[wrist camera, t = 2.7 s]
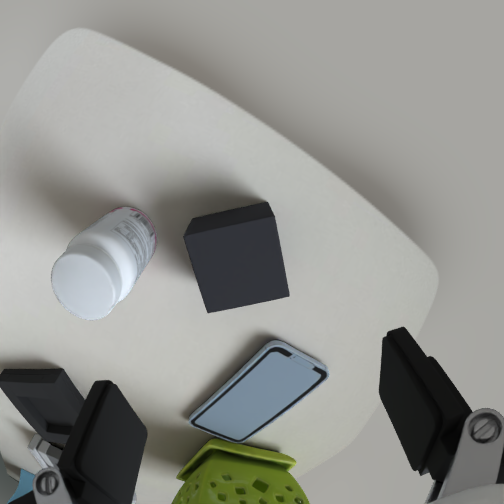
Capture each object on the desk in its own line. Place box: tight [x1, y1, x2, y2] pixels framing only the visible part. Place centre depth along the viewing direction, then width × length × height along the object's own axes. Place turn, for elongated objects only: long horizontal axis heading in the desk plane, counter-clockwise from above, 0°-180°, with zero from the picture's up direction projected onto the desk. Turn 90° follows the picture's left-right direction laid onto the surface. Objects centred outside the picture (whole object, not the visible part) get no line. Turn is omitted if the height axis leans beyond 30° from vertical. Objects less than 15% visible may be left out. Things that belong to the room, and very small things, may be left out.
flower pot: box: [172, 438, 310, 504], centre depth 27 cm, size 14×14×13 cm
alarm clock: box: [28, 434, 136, 504], centre depth 34 cm, size 17×5×16 cm
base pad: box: [0, 369, 85, 444], centre depth 28 cm, size 12×12×2 cm
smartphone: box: [189, 340, 329, 443], centre depth 28 cm, size 7×1×15 cm
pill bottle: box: [51, 207, 157, 320], centre depth 18 cm, size 5×5×8 cm
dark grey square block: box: [183, 202, 289, 313], centre depth 20 cm, size 6×6×4 cm
